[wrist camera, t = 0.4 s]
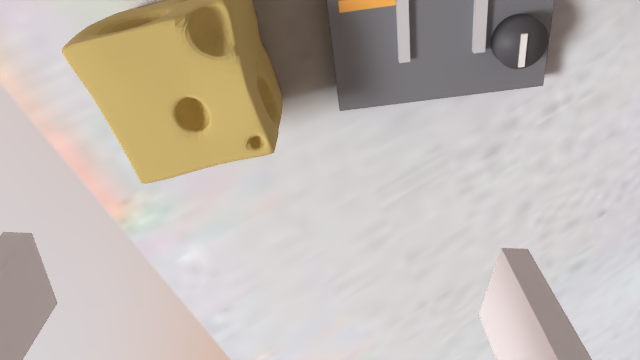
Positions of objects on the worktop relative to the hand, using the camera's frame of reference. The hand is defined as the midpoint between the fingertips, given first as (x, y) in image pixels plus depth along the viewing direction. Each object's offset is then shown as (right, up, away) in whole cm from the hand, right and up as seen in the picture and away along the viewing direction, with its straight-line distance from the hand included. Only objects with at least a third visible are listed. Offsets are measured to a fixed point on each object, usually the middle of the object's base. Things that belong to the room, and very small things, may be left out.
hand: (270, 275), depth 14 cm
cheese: (-8, +13, +24) cm, 28 cm away
